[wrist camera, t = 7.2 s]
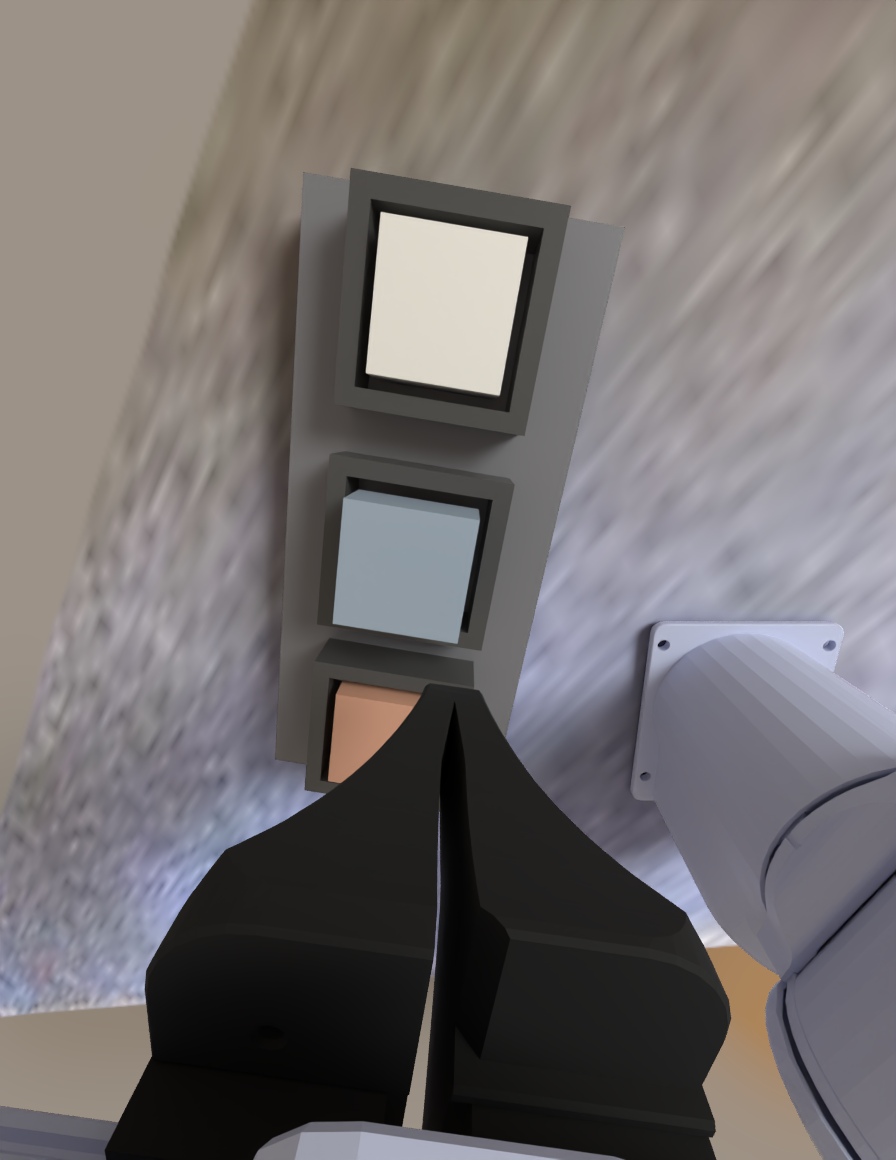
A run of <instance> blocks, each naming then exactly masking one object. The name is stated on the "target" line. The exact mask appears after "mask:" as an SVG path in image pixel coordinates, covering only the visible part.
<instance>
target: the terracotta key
mask: <svg viewBox="0 0 896 1160" xmlns="http://www.w3.org/2000/svg"><path fill="white" fill-rule="evenodd" d="M421 694H422V693H420V692H414V691H407V690H401V689H395V688H389V687H382V686H376V685H370V684H364V683H358V682H351V681H345V680H343V681H342V683H341V685H340V687H339V689H338V691H337V693H336V701H335V711H334V722H333V733H332V743H331V754H330V765H329V776H328V781H330V782H337V783H341V782H343V781H344V780H345V779H347V778H348V777H349V776H350V775H352V774H353V773H354V772H355V771H356V770H357V769H359V768H360V767H361V766H362V765H363V764H364V763H365V762H366V761H367V760H369V759H370V758H371V757H372V756H373V755H374V754H375V753H376V752H377V751H378V750H379V749H380V748H381V747H382V745H383V744H384V743H385V742H386V741H387V740H388V739H389V738H390V737H391V736H392V734H393V733H394V732H395V731H396V730H397V729H398V727H399V726H400V725H401V724H402V722H403V721H404V720H405V718H406V717H407V716H408V714H409V713H410V712H411V710H412V709H413V707H414V706H415V704H416V703H417V701H418V700H419V698H420V696H421Z"/></svg>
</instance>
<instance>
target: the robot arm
mask: <svg viewBox="0 0 896 1160" xmlns="http://www.w3.org/2000/svg"><path fill="white" fill-rule="evenodd" d="M843 635H844V630H843V628H842V627H841V626H840V625H838V624H836V623H834V622H831V621H662V622H658V623H656V624H655V625H654V626H653V627H652V629H651V632H650V640H649V647H648V655H647V663H646V671H645V678H644V686H643V694H642V702H641V709H640V717H639V725H638V733H637V740H636V748H635V756H634V764H633V771H632V779H631V787H630V789H631V793H632V795H633V796H634V798H635V799H637V800H641V801H654V802H655V804H656V806H657V808H658V810H659V812H660V814H661V816H662V818H663V820H664V822H665V823H666V825H667V827H668V829H669V831H670V833H671V835H672V837H673V839H674V841H675V843H676V845H677V847H678V849H679V851H680V853H681V855H682V857H683V859H684V861H685V863H686V865H687V867H688V869H689V871H690V873H691V875H692V877H693V879H694V881H695V883H696V885H697V887H698V889H699V891H700V893H701V895H702V897H703V899H704V901H705V903H706V905H707V907H708V909H709V910H710V912H711V914H712V915H713V917H714V918H715V920H716V921H717V922H718V924H719V925H720V926H721V928H722V929H723V930H724V931H725V932H726V933H727V934H728V936H729V937H730V938H731V939H732V940H733V941H734V942H735V943H736V944H737V945H738V946H740V947H741V948H742V949H743V950H744V951H745V952H746V953H748V954H749V955H750V956H751V957H752V958H753V959H755V960H756V961H757V962H759V963H760V964H761V965H763V966H764V967H766V968H767V969H769V970H770V971H772V972H774V973H776V974H777V975H779V977H780V979H781V980H780V981H779V982H778V983H776V984H775V985H774V987H773V988H772V990H771V991H770V992H769V995H768V999H767V1003H766V1008H765V1009H766V1027H767V1032H768V1037H769V1042H770V1046H771V1049H772V1052H773V1055H774V1058H775V1061H776V1064H777V1067H778V1070H779V1073H780V1075H781V1078H782V1080H783V1082H784V1085H785V1087H786V1089H787V1091H788V1094H789V1096H790V1099H791V1101H792V1103H793V1105H794V1106H795V1108H796V1110H797V1113H798V1115H799V1117H800V1119H801V1121H802V1123H803V1125H804V1127H805V1129H806V1131H807V1133H808V1134H809V1136H810V1138H811V1140H812V1142H813V1143H814V1145H815V1147H816V1148H817V1151H818V1152H819V1154H820V1155H821V1157H822V1159H823V1160H896V714H895V713H894V712H892V711H891V710H889V709H888V708H886V707H885V706H883V705H882V704H880V703H879V702H877V701H876V700H874V699H873V698H871V697H870V696H868V695H867V694H865V693H864V692H862V691H861V690H859V689H858V688H856V687H855V686H853V685H852V684H850V683H849V682H847V681H846V680H844V679H843V678H841V677H840V676H838V675H837V674H835V673H834V668H835V665H836V661H837V657H838V654H839V650H840V646H841V643H842V639H843ZM662 640H666V643H665V645H664V646H662V647H658V643H659V642H660V641H662ZM827 641H829V643H828V645H826V646H825V647H823V645H824V643H825V642H827ZM643 772H647V773H646V774H645V775H641V774H642V773H643ZM439 796H440V872H441V892H440V916H439V929H438V942H437V956H436V968H435V981H434V994H433V1006H432V1019H431V1030H430V1042H429V1054H428V1066H427V1078H426V1090H425V1103H424V1114H423V1125H422V1130H420V1129H413V1128H406V1127H402V1124H403V1118H404V1113H405V1107H406V1102H407V1096H408V1095H409V1092H410V1087H411V1081H412V1075H413V1070H414V1064H415V1059H416V1053H417V1048H418V1042H419V1036H420V1031H421V1025H422V1020H423V1014H424V1008H425V1003H426V997H427V992H428V986H429V981H430V975H431V970H432V964H433V957H434V947H435V932H436V917H437V850H438V818H439ZM145 996H146V1005H147V1013H148V1023H149V1032H150V1042H151V1051H152V1057H151V1059H150V1061H149V1063H148V1065H147V1067H146V1069H145V1071H144V1073H143V1075H142V1077H141V1079H140V1081H139V1083H138V1085H137V1087H136V1089H135V1091H134V1093H133V1095H132V1097H131V1099H130V1100H129V1102H128V1104H127V1107H126V1108H125V1110H124V1113H123V1114H122V1116H121V1118H120V1120H119V1122H112V1121H104V1120H97V1119H90V1118H82V1117H76V1116H69V1115H61V1114H54V1113H47V1112H40V1111H33V1110H26V1109H19V1108H11V1107H4V1106H0V1160H716V1157H715V1155H714V1151H713V1149H712V1146H711V1143H710V1140H709V1137H713V1135H714V1133H715V1132H716V1130H715V1120H714V1118H713V1115H712V1112H711V1109H710V1107H709V1104H708V1101H707V1098H706V1095H705V1092H704V1090H703V1087H702V1084H703V1082H704V1080H705V1078H706V1076H707V1074H708V1072H709V1070H710V1068H711V1066H712V1064H713V1062H714V1060H715V1058H716V1056H717V1054H718V1053H719V1051H720V1048H721V1047H722V1045H723V1043H724V1040H725V1038H726V1035H727V1031H728V1028H729V1024H730V1021H731V1015H730V1006H729V999H728V997H727V995H726V993H725V991H724V988H723V986H722V984H721V982H720V980H719V977H718V975H717V973H716V971H715V968H714V966H713V964H712V962H711V960H710V958H709V955H708V953H707V952H706V949H705V947H704V945H703V943H702V941H701V940H700V938H699V936H698V934H697V932H696V931H695V929H694V927H693V925H692V923H691V921H690V920H689V918H688V916H687V914H686V912H684V911H683V910H681V909H680V908H679V907H677V906H676V905H674V904H673V903H672V902H670V901H669V900H667V899H666V898H665V897H663V896H662V895H661V894H659V893H658V892H656V891H655V890H654V889H652V888H651V887H649V886H648V885H647V884H645V883H644V882H642V881H641V880H640V879H638V878H637V877H635V876H634V875H633V874H631V873H630V872H629V871H628V870H626V869H625V868H624V867H623V866H621V865H620V864H619V863H618V862H617V861H615V860H614V859H613V858H612V857H611V856H609V855H608V854H607V853H606V852H604V851H603V850H602V849H601V848H600V847H599V846H598V845H596V844H595V843H594V842H593V841H592V840H591V839H590V838H589V837H587V836H586V835H585V834H584V833H583V832H582V831H581V830H580V829H579V828H578V827H577V826H576V825H575V824H574V823H573V822H572V821H571V820H570V819H569V818H568V817H567V816H566V815H565V814H564V813H563V812H562V811H561V810H560V809H559V808H558V807H557V806H556V805H555V804H554V803H553V802H552V801H551V800H550V798H549V797H548V796H547V795H546V794H545V793H544V791H543V790H542V789H541V788H540V787H539V786H538V784H537V783H536V782H535V781H534V779H533V778H532V777H531V775H530V774H529V773H528V772H527V770H526V769H525V767H524V766H523V764H522V763H521V762H520V760H519V759H518V757H517V756H516V754H515V753H514V751H513V750H512V748H511V747H510V745H509V743H508V742H507V740H506V738H505V737H504V735H503V734H502V732H501V730H500V729H499V727H498V725H497V723H496V721H495V719H494V718H493V716H492V714H491V712H490V710H489V708H488V706H487V704H486V702H485V699H484V697H483V695H482V693H481V692H480V691H479V690H475V689H468V688H461V687H454V686H447V685H440V684H433V683H429V684H428V685H426V686H425V687H424V690H423V692H422V694H421V696H420V698H419V700H418V701H417V703H416V704H415V706H414V707H413V709H412V710H411V712H410V713H409V714H408V716H407V717H406V718H405V720H404V721H403V722H402V724H401V725H400V726H399V727H398V729H397V730H396V731H395V732H394V733H393V734H392V736H391V737H390V738H389V739H388V740H387V741H386V742H385V743H384V744H383V745H382V747H381V748H380V749H379V750H378V751H377V752H376V753H375V754H374V755H373V756H372V757H371V758H370V759H369V760H367V761H366V762H365V763H364V764H363V765H362V766H361V767H360V768H359V769H357V770H356V771H355V772H354V773H353V774H352V775H350V776H349V777H348V778H347V779H345V780H344V781H343V782H341V783H340V784H339V785H338V786H336V787H335V788H334V789H333V790H331V791H330V792H328V793H327V794H326V795H324V796H323V797H321V798H320V799H318V800H317V801H315V802H314V803H312V804H311V805H309V806H307V807H306V808H304V809H303V810H301V811H299V812H298V813H296V814H295V815H293V816H291V817H290V818H288V819H287V820H285V821H283V822H281V823H279V824H278V825H276V826H274V827H272V828H270V829H268V830H266V831H264V832H262V833H260V834H258V835H256V836H253V837H251V838H249V839H247V840H245V841H243V842H241V843H239V844H237V845H235V846H233V847H230V848H228V849H226V850H225V851H224V852H223V854H222V855H221V856H220V857H219V859H218V860H217V861H216V862H215V864H214V865H213V866H212V867H211V869H210V870H209V871H208V873H207V874H206V875H205V877H204V878H203V879H202V881H201V882H200V883H199V885H198V886H197V887H196V889H195V890H194V891H193V892H192V894H191V895H190V897H189V898H188V900H187V901H186V903H185V904H184V906H183V907H182V909H181V910H180V912H179V914H178V915H177V917H176V919H175V921H174V922H173V924H172V926H171V927H170V929H169V931H168V933H167V934H166V936H165V938H164V939H163V941H162V943H161V945H160V946H159V948H158V950H157V951H156V953H155V955H154V957H153V959H152V961H151V962H150V964H149V966H148V968H147V970H146V981H145Z"/></svg>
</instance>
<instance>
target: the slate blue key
mask: <svg viewBox="0 0 896 1160" xmlns="http://www.w3.org/2000/svg"><path fill="white" fill-rule="evenodd" d="M479 523H480V517H479V510H478V509H474V508H468V507H462V506H456V505H450V504H444V503H438V502H432V501H426V500H420V499H414V498H408V497H402V496H396V495H389V494H383V493H377V492H371V491H365V490H357V491H355V492H353V493H352V494H350V495H348V496H346V497H344V498H343V509H342V520H341V532H340V544H339V555H338V567H337V578H336V590H335V602H334V613H333V624H338V625H344V626H350V627H356V628H363V629H369V630H375V631H381V632H387V633H394V634H400V635H406V636H412V637H418V638H424V639H431V640H437V641H443V642H449V643H455V644H458V638H459V633H460V627H461V622H462V616H463V611H464V605H465V600H466V594H467V589H468V583H469V578H470V572H471V567H472V561H473V556H474V550H475V545H476V539H477V534H478V528H479Z"/></svg>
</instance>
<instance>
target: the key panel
mask: <svg viewBox="0 0 896 1160" xmlns="http://www.w3.org/2000/svg"><path fill="white" fill-rule="evenodd" d="M570 208H571V206H569V205H564V204H558V203H552V202H546V201H540V200H535V199H529V198H523V197H517V196H511V195H505V194H500V193H494V192H488V191H482V190H476V189H470V188H465V187H459V186H453V185H447V184H441V183H436V182H430V181H424V180H418V179H412V178H406V177H401V176H395V175H389V174H383V173H377V172H371V171H366V170H360V169H354V168H351V171H350V180H346V179H340V178H334V177H329V176H323V175H317V174H311V173H305V172H303V189H302V210H301V231H300V252H299V273H298V294H297V315H296V335H295V356H294V377H293V398H292V419H291V440H290V461H289V482H288V503H287V524H286V544H285V565H284V586H283V607H282V628H281V649H280V670H279V691H278V712H277V732H276V753H275V759H276V760H283V761H289V762H295V763H302V764H307V765H306V778H305V790H307V791H313V792H320V793H326V794H327V793H328V792H330V791H331V790H333V789H334V788H335V787H336V786H338V785H339V784H340V783H337V782H330V781H328V776H329V765H330V754H331V743H332V733H333V722H334V711H335V701H336V693H337V691H338V689H339V687H340V685H341V683H342V681H343V680H345V681H351V682H358V683H364V684H370V685H376V686H382V687H389V688H395V689H401V690H407V691H414V692H420V693H422V692H423V690H424V687H425V686H426V685H428V684H429V683H433V684H440V685H447V686H454V687H461V688H468V689H475V690H479V691H480V692H481V693H482V695H483V697H484V699H485V702H486V704H487V706H488V708H489V710H490V712H491V714H492V716H493V718H494V719H495V721H496V723H497V725H498V727H499V729H500V730H501V732H502V734H503V735H504V737H506V732H507V728H508V724H509V720H510V715H511V711H512V707H513V703H514V698H515V694H516V690H517V686H518V681H519V677H520V673H521V669H522V664H523V660H524V656H525V651H526V647H527V643H528V639H529V634H530V630H531V626H532V622H533V617H534V613H535V609H536V605H537V600H538V596H539V592H540V588H541V583H542V579H543V575H544V570H545V566H546V562H547V558H548V553H549V549H550V545H551V541H552V536H553V532H554V528H555V524H556V519H557V515H558V511H559V507H560V502H561V498H562V494H563V490H564V485H565V481H566V477H567V472H568V468H569V464H570V460H571V455H572V451H573V447H574V443H575V438H576V434H577V430H578V426H579V421H580V417H581V413H582V409H583V404H584V400H585V396H586V392H587V387H588V383H589V379H590V374H591V370H592V366H593V362H594V357H595V353H596V349H597V345H598V340H599V336H600V332H601V328H602V323H603V319H604V315H605V311H606V306H607V302H608V298H609V293H610V289H611V285H612V281H613V276H614V272H615V268H616V264H617V259H618V255H619V251H620V247H621V242H622V238H623V234H624V230H625V227H620V226H614V225H609V224H603V223H597V222H591V221H585V220H579V219H574V218H569V213H570ZM381 212H384V213H390V214H396V215H402V216H408V217H414V218H419V219H425V220H431V221H437V222H443V223H449V224H455V225H460V226H466V227H472V228H478V229H484V230H490V231H496V232H501V233H507V234H513V235H519V236H525V237H528V241H527V247H526V252H525V258H524V263H523V269H522V275H521V280H520V286H519V291H518V297H517V302H516V308H515V313H514V319H513V325H512V330H511V336H510V341H509V347H508V352H507V358H506V364H505V369H504V375H503V380H502V386H501V391H500V396H499V397H498V398H497V399H496V400H495V399H489V398H483V397H477V396H471V395H465V394H459V393H453V392H447V391H441V390H435V389H429V388H423V387H417V386H411V385H405V384H399V383H393V382H387V381H381V380H377V379H376V378H374V377H372V376H370V375H368V374H367V373H366V366H367V355H368V344H369V333H370V323H371V312H372V301H373V290H374V280H375V269H376V258H377V247H378V237H379V226H380V215H381ZM357 490H365V491H371V492H377V493H383V494H389V495H396V496H402V497H408V498H414V499H420V500H426V501H432V502H438V503H444V504H450V505H456V506H462V507H468V508H474V509H478V510H479V517H480V523H479V528H478V534H477V539H476V545H475V550H474V556H473V561H472V567H471V572H470V578H469V583H468V589H467V594H466V600H465V605H464V611H463V616H462V622H461V627H460V633H459V638H458V644H455V643H449V642H443V641H437V640H431V639H424V638H418V637H412V636H406V635H400V634H394V633H387V632H381V631H375V630H369V629H363V628H356V627H350V626H344V625H338V624H333V613H334V602H335V590H336V578H337V567H338V555H339V544H340V532H341V520H342V509H343V498H344V497H346V496H348V495H350V494H352V493H353V492H355V491H357ZM439 811H440V796H439Z"/></svg>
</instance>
